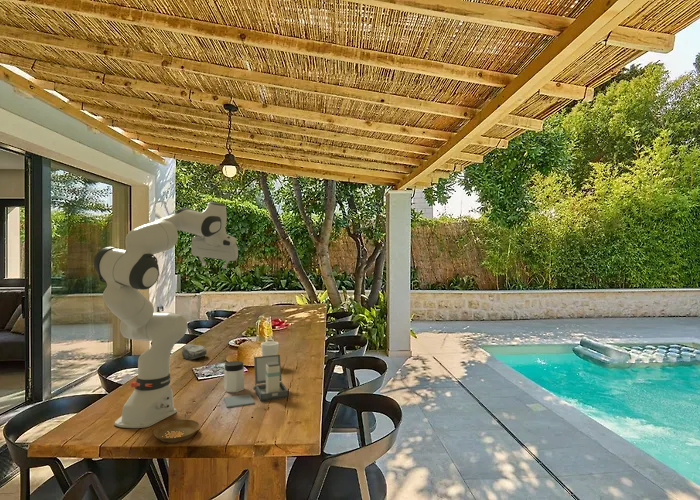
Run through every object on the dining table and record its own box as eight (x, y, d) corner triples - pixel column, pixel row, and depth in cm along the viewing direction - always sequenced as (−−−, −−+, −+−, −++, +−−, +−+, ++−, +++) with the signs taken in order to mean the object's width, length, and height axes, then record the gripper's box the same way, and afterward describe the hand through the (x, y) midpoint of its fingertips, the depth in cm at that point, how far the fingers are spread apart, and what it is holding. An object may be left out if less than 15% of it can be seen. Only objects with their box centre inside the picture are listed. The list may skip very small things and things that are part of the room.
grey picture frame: (279, 354, 193) (279, 354, 194) (254, 357, 188) (254, 357, 189) (281, 380, 190) (281, 380, 191) (255, 384, 185) (255, 384, 186)
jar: (246, 386, 193) (246, 360, 193) (241, 392, 185) (241, 365, 185) (226, 386, 193) (227, 360, 193) (221, 392, 185) (221, 365, 185)
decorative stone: (206, 354, 238) (200, 338, 239) (182, 364, 235) (176, 348, 236) (209, 353, 252) (204, 337, 253) (187, 362, 249) (181, 347, 250)
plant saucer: (198, 442, 137) (198, 434, 137) (149, 448, 133) (149, 440, 133) (201, 424, 151) (201, 417, 151) (157, 429, 147) (157, 422, 147)
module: (279, 393, 179) (279, 364, 179) (267, 395, 177) (268, 365, 177) (276, 389, 184) (277, 361, 184) (265, 391, 182) (265, 362, 182)
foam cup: (266, 370, 218) (266, 346, 218) (257, 366, 225) (257, 343, 225) (281, 367, 225) (281, 343, 225) (272, 363, 232) (273, 340, 232)
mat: (254, 404, 171) (254, 402, 171) (227, 407, 167) (227, 406, 167) (250, 395, 181) (250, 394, 181) (223, 398, 177) (224, 397, 177)
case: (288, 398, 178) (288, 377, 178) (260, 401, 174) (261, 380, 174) (278, 384, 195) (278, 366, 195) (253, 388, 191) (253, 368, 191)
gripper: (189, 236, 180) (188, 266, 184) (236, 243, 181) (234, 272, 185) (194, 232, 186) (193, 261, 190) (239, 238, 187) (238, 267, 191)
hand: (214, 266), depth 188 cm, fingers open, 8 cm apart
